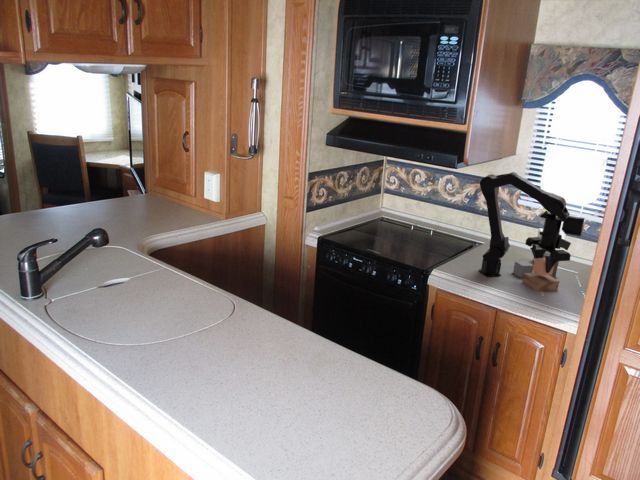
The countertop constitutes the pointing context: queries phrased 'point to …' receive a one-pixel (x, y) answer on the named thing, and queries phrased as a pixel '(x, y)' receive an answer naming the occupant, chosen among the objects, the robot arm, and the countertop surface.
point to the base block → (540, 282)
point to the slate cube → (522, 268)
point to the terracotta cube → (541, 267)
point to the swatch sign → (554, 268)
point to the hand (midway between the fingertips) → (542, 270)
